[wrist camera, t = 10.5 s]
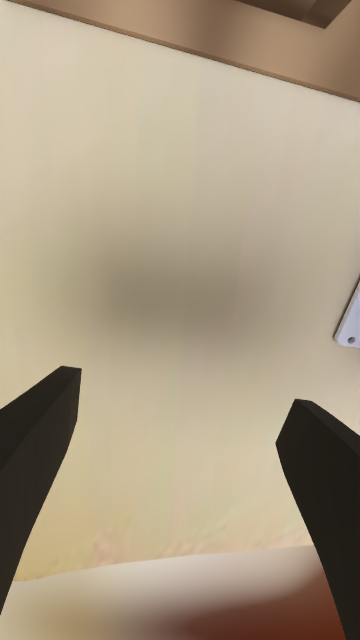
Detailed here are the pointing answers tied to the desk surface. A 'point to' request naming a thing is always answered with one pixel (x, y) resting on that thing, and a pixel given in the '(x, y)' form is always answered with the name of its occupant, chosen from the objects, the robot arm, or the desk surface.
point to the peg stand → (242, 34)
